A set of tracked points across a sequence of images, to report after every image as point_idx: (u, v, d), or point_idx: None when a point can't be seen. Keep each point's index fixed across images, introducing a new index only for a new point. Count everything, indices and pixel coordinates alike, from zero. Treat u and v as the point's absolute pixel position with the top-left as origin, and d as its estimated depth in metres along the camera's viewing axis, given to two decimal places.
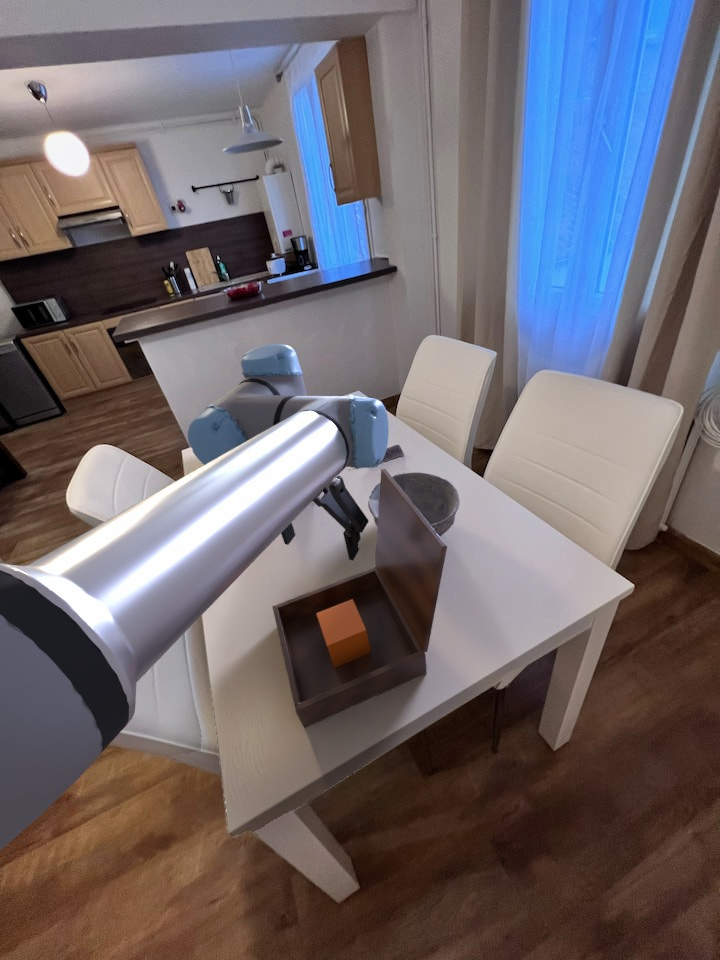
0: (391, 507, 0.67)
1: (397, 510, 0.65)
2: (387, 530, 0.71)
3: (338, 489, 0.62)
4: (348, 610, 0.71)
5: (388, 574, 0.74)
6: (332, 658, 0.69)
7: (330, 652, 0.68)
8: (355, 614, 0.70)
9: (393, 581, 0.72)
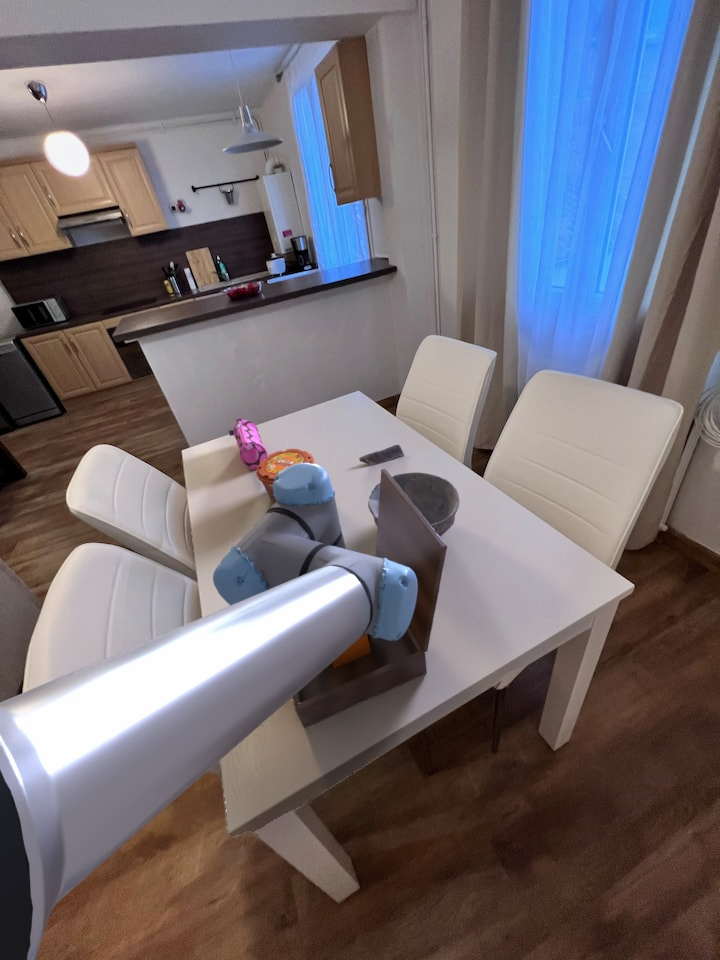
0: (391, 507, 0.67)
1: (397, 510, 0.65)
2: (387, 530, 0.71)
3: None
4: None
5: None
6: None
7: None
8: None
9: None
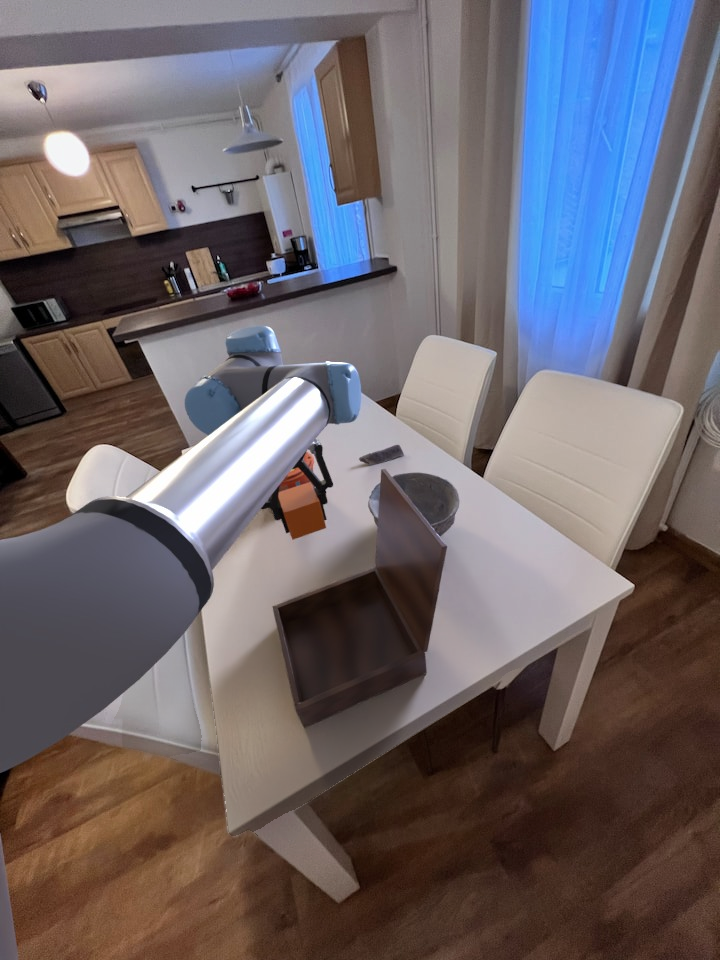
0: (391, 507, 0.67)
1: (397, 510, 0.65)
2: (387, 530, 0.71)
3: None
4: (305, 489, 0.79)
5: (388, 574, 0.74)
6: (289, 528, 0.77)
7: (287, 520, 0.75)
8: (311, 491, 0.78)
9: (393, 581, 0.72)
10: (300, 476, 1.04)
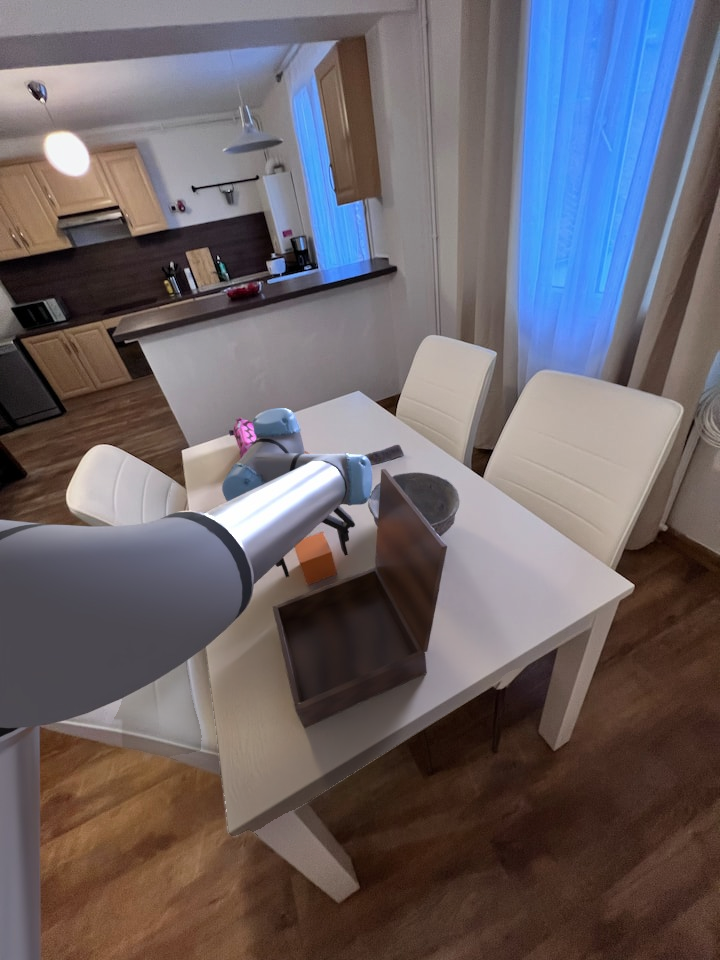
0: (391, 507, 0.67)
1: (397, 510, 0.65)
2: (387, 530, 0.71)
3: None
4: (318, 539, 0.88)
5: (388, 574, 0.74)
6: (304, 575, 0.86)
7: (303, 569, 0.85)
8: (323, 542, 0.88)
9: (393, 581, 0.72)
10: None
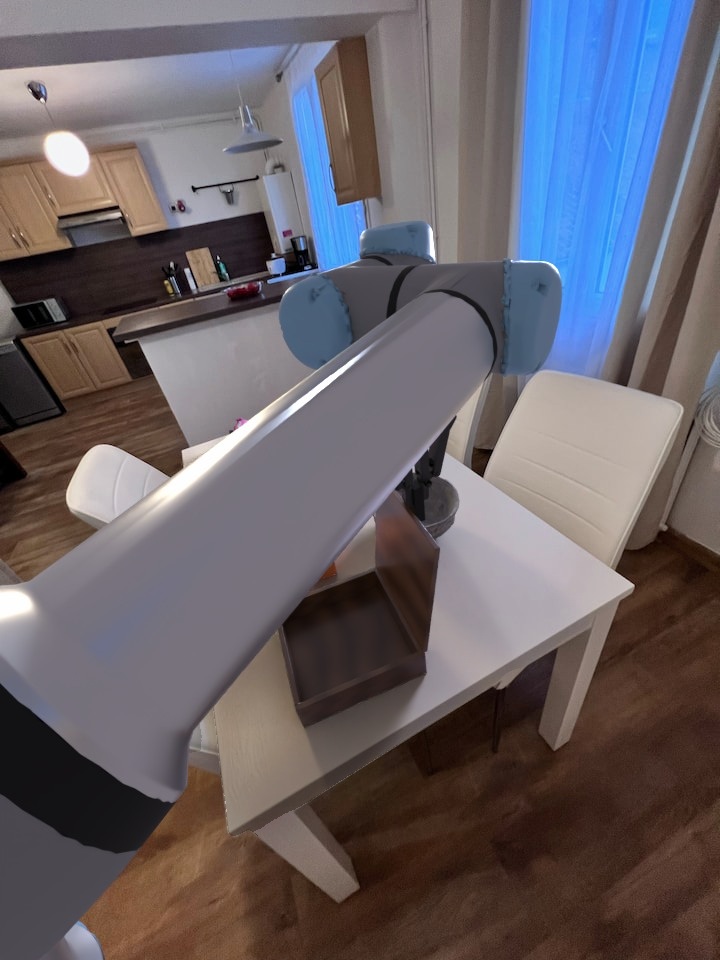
0: (386, 508, 0.67)
1: (392, 511, 0.65)
2: (384, 531, 0.71)
3: (452, 421, 0.54)
4: None
5: (387, 574, 0.74)
6: None
7: None
8: None
9: (392, 581, 0.72)
10: None
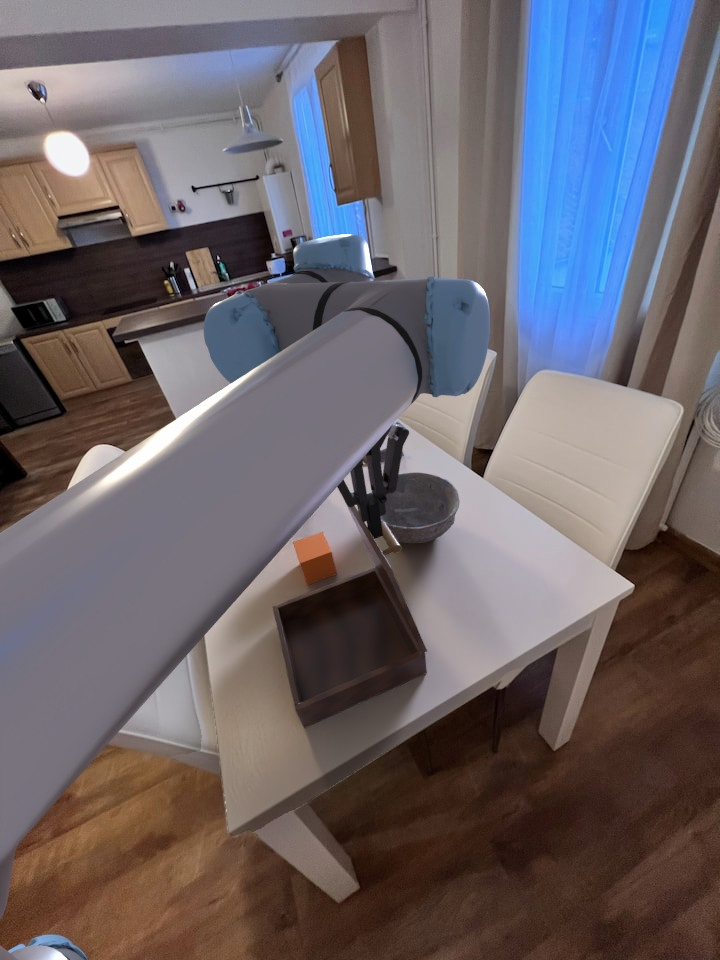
0: (355, 520, 0.66)
1: (358, 524, 0.64)
2: (364, 539, 0.70)
3: None
4: (318, 539, 0.88)
5: (382, 577, 0.74)
6: (305, 575, 0.86)
7: (303, 569, 0.85)
8: (323, 542, 0.88)
9: (386, 584, 0.72)
10: None
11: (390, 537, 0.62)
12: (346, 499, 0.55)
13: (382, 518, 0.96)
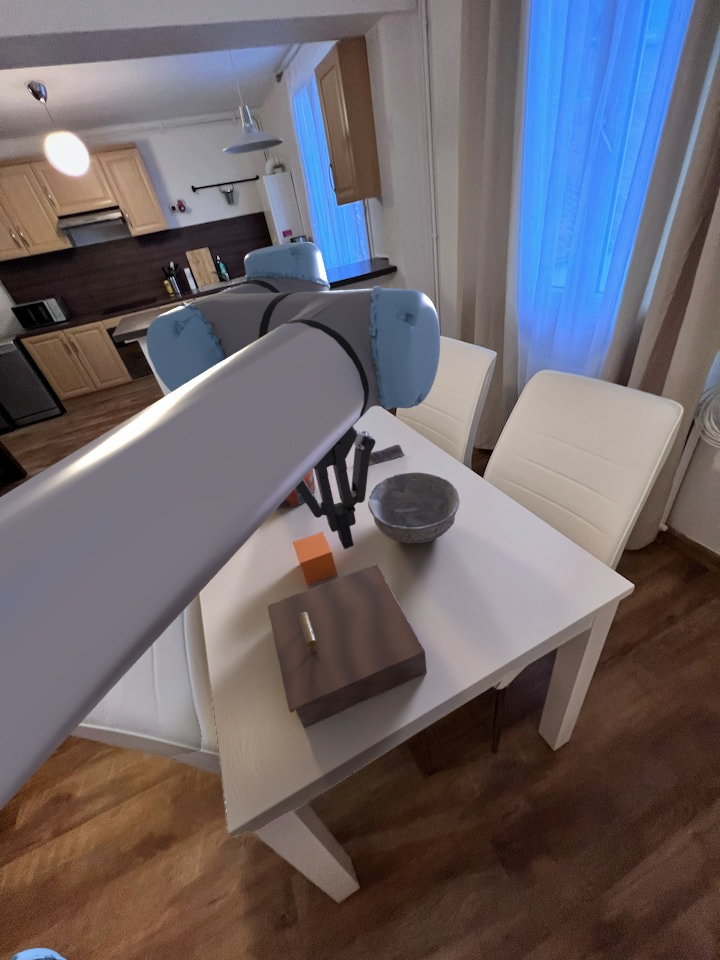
0: None
1: None
2: None
3: None
4: (318, 539, 0.88)
5: None
6: (305, 575, 0.86)
7: (303, 569, 0.85)
8: (323, 542, 0.88)
9: None
10: None
11: (304, 635, 0.67)
12: (313, 509, 0.54)
13: (382, 518, 0.96)
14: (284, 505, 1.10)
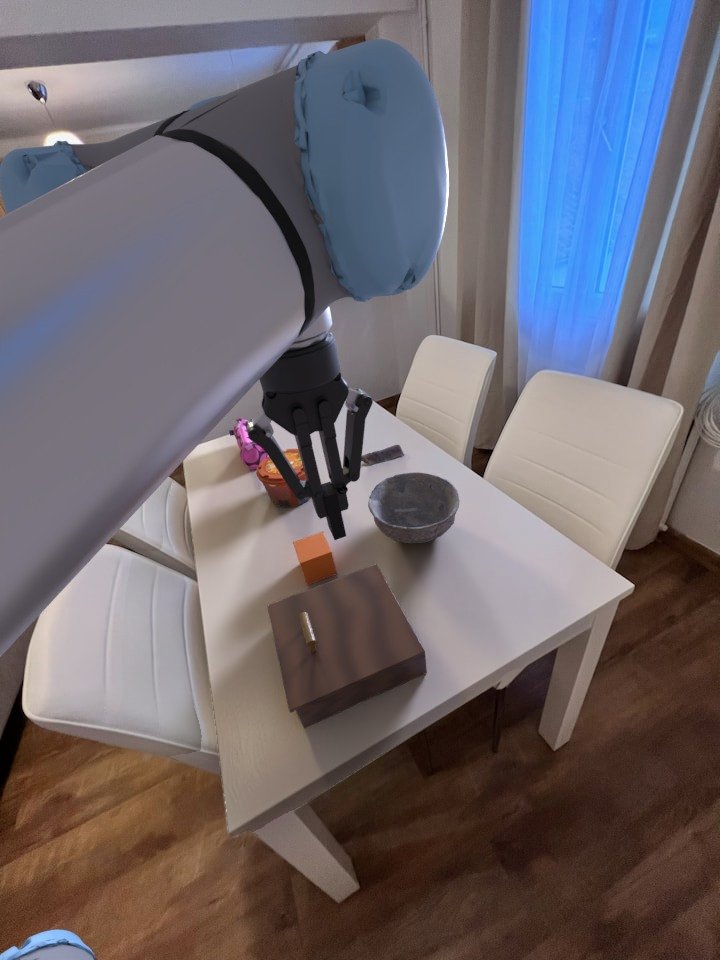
0: None
1: None
2: None
3: None
4: (318, 539, 0.88)
5: None
6: (305, 575, 0.86)
7: (303, 569, 0.85)
8: (323, 542, 0.88)
9: None
10: (300, 476, 1.04)
11: (304, 635, 0.67)
12: (294, 488, 0.42)
13: (382, 518, 0.96)
14: (284, 505, 1.10)
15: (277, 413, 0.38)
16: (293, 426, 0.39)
